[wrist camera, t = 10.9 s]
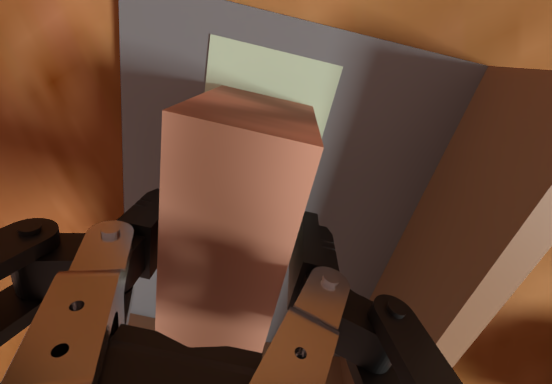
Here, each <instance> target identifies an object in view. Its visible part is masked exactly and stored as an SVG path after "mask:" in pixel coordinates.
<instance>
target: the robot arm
mask: <svg viewBox="0 0 552 384" xmlns="http://www.w3.org/2000/svg"><path fill="white" fill-rule="evenodd" d="M159 192H160V189H158V188H157V189H155V190H152V191H150V192H147V193H146V194H145V195H144V196H143V197H141V198H140V200H138V201H137V202H136V203H135V205H133V206H132V207H131V208H130V209H128V210H127V211H126V212H125V213H124V214H123V215H122V216H121V217H120V218H119V219H118V220H116V221H115V220H113V221H104V222H100V223H97V224H95V225H93V226H92V227H90V228H89V229H88V230H87V232H86V233H59V227H58V224H57V223H56V222H54V221H53V220H50V219H44V218H32V219H25V220H21V221H18V222H15V223H12V224H10V225H8V226H5V227H3V228H0V280H2V279H3V278H5V277H7V276H9V275H11V278H12V282H13V284H12V285H11V286H9V287H7V288H6V289H4V290H2V291H1V292H0V346H2V345H3V344H4V343H6V342H7V341H8V340H10V339H11V338H12V337H14V336H15V335H16V334H18V333H19V332H20V331H22V330H23V329H25V328H26V327H27V326H29V325H30V326H29V328H28V330H27V332H26V334H25V336H24V338H23V340H22V342H21V344H20V346H19V348H18V350H17V352H16V354H15V356H14V358H13V360H12V362H11V364H10V366H9V368H8V370H7V372H6V374H5V376H4V378H3V380H2V382H1V383H0V384H325V383H326V379H327V376H328V372H329V369H330V365H331V362H332V358H333V355H334V353H335V354H337V355H339V356H341V357H343V358H345V359H346V362H347V365H348V368H349V370H350V373H351V376H352V378H353V381H354V384H463V383H462V382H461V380H460V379H459V377H458V376H457V374H456V373H455V372H454V370H453V369H452V367H451V366H450V364H449V363H448V361H447V360H446V358H445V357H444V355H443V354H442V353H441V351H440V350H439V348H438V347H437V345H436V344H435V342H434V341H433V339H432V338H431V336H430V335H429V334H428V332H427V331H426V329H425V328H424V326H423V325H422V323H421V322H420V320H419V319H418V317H417V316H416V315H415V313H414V312H413V310H412V309H411V308H410V307H409V306H408V305H407V304H406V303H405V302H403V301H402V300H400V299H398V298H396V297H394V296H391V295H386V294H382V295H378V296H377V297H376V298H375V299H374V301H371V300H369V299H367V298H365V297H363V296H361V295H359V294H357V293H355V292H354V291H352V290H351V289H350V284H349V282H348V280H347V278H346V277H345V276H344V275H343V274H342V273H340V271H339V266H338V261H337V255H336V251H335V245H334V240H333V235H332V233H331V232H330V231H329V229H328V228H327V227H325V226H320V225H319V221H318V214H317V213H312V212H308V211H305V212H304V215H303V218H302V222H301V225H300V228H299V232H298V235H297V238H296V242H295V245H294V248H293V252H292V255H291V258H290V262H289V278H288V301H287V310H288V312H287V314H286V316H285V318H284V319H283V321H282V323H281V325H280V327H279V329H278V331H277V332H276V334H275V336H274V338H273V340H272V342H271V344H270V346H269V347H268V349H267V351H266V353H265V355H264V357H263V359H262V355H263V353H259V352H255V351H250V350H245V349H240V348H236V347H231V346H216V347H187V346H185V345H183V344H181V343H179V342H177V341H175V340H173V339H171V338H169V337H167V336H165V335H163V334H162V333H160V332H158V331H155V330H150V329H145V328H140V327H136V326H131V325H128V323H129V317H130V311H131V306H132V300H133V295H134V284H135V283H136V281H137V280H138V278H139V277H140V278H145V279H149V280H150V278H151V277H152V275H153V274H154V272H155V271H156V269H157V254H158V223H159Z"/></svg>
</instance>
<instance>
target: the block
mask: <svg viewBox="0 0 552 384" xmlns="http://www.w3.org/2000/svg"><path fill="white" fill-rule="evenodd" d="M323 149H324V146H323V142H322V139H321V135H320V131H319V127H318V124H317V120H316V116H315V113H314V109H313V106H309V105H305V104H301V103H296V102H292V101H288V100H284V99H279V98H275V97H271V96H267V95H262V94H258V93H254V92H250V91H245V90H241V89H237V88H233V87H228V86H224V85H221V86H219V87H216V88H214V89H212V90H209V91H207V92H204V93H202V94H200V95H197V96H195V97H193V98H190V99H188V100H185V101H183V102H181V103H178V104H176V105H173V106H171V107H169V108H166V109H164V110H162V131H161V162H160V192H159V223H158V254H157V284H156V315H155V331H158V332H160V333H162V334H163V335H165V336H167V337H169V338H171V339H173V340H175V341H177V342H179V343H181V344H183V345H185V346H187V347H216V346H231V347H236V348H240V349H245V350H250V351H255V352H259V353H262V351H263V348H264V344H265V341H266V338H267V335H268V331H269V328H270V325H271V321H272V318H273V315H274V311H275V308H276V305H277V301H278V298H279V295H280V291H281V288H282V285H283V281H284V278H285V275H286V272H287V268H288V265H289V262H290V258H291V255H292V252H293V248H294V245H295V242H296V238H297V235H298V232H299V228H300V225H301V222H302V218H303V215H304V212H305V209H306V205H307V202H308V199H309V195H310V192H311V189H312V185H313V182H314V179H315V175H316V172H317V169H318V165H319V162H320V159H321V155H322V152H323Z"/></svg>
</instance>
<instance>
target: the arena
mask: <svg viewBox="0 0 552 384" xmlns="http://www.w3.org/2000/svg"><path fill="white" fill-rule="evenodd" d="M119 36H120V74H121V113H122V151H123V190H124V213H125V212H126V211H127V210H128V209H130V208H131V207H132V206H133V205H135V203H136V202H137V201H138V200H140V198H141V197H143V196H144V195H145V194H146V193H147V192H150V191H152V190H155V189H157V188H158V189H160V162H161V131H162V110H164V109H166V108H169V107H171V106H173V105H176V104H178V103H181V102H183V101H185V100H188V99H190V98H193V97H195V96H197V95H200V94H202V93H204V92H207V91H209V90H212V89H214V88H216V87H219V86H221V85H224V86H228V87H233V88H237V89H241V90H245V91H250V92H254V93H258V94H262V95H267V96H271V97H275V98H279V99H284V100H288V101H292V102H296V103H301V104H305V105H309V106H313V109H314V113H315V116H316V120H317V124H318V127H319V131H320V135H321V139H322V142H323V146H324V149H323V152H322V155H321V159H320V162H319V165H318V169H317V172H316V175H315V179H314V182H313V185H312V189H311V192H310V195H309V199H308V202H307V205H306V209H305V211H308V212H312V213H317V214H318V221H319V225H320V226H325V227H327V228H328V229H329V231H330V232H331V233H332V235H333V240H334V245H335V251H336V255H337V261H338V266H339V271H340V273H342V274H343V275H344V276H345V277H346V278H347V280H348V282H349V284H350V289H351V290H352V291H354V292H355V293H357V294H359V295H361V296H363V297H365V298H367V299H369V300H371V301H374V299H375V298H376V297H377V296H378V295H382V294H386V295H391V296H394V297H396V298H398V299H400V300H402V301H403V302H405V303H406V304H407V305H408V306H409V307H410V308H411V309H412V310H413V312H414V313H415V315H416V316H417V317H418V319H419V320H420V322H421V323H422V325H423V326H424V328H425V329H426V331H427V332H428V334H429V335H430V336H431V338H432V339H433V341H434V342H435V344H436V345H437V347H438V348H439V350H440V351H441V353H442V354H443V355H444V357H445V358H446V360H447V361H448V363H449V364H450V366H451V367H452V368H453V366H454V365H455V364H456V363H457V361H458V360H459V359H460V358H461V357H462V355H463V354H464V353H465V352H466V350H467V349H468V348H469V347H470V346H471V344H472V343H473V342H474V341H475V339H476V338H477V337H478V336H479V335H480V333H481V332H482V331H483V330H484V328H485V327H486V326H487V325H488V324H489V322H490V321H491V320H492V319H493V317H494V316H495V315H496V314H497V312H498V311H499V310H500V309H501V308H502V306H503V305H504V304H505V303H506V301H507V300H508V299H509V298H510V297H511V295H512V294H513V293H514V292H515V290H516V289H517V288H518V287H519V286H520V284H521V283H522V282H523V281H524V279H525V278H526V277H527V276H528V275H529V273H530V272H531V271H532V270H533V268H534V267H535V266H536V265H537V263H538V262H539V261H540V260H541V259H542V257H543V256H544V255H545V254H546V252H547V251H548V250H549V249H550V248H551V246H552V70H539V69H524V68H509V67H495V66H486V65H482V64H478V63H474V62H470V61H466V60H462V59H458V58H454V57H450V56H446V55H442V54H438V53H434V52H430V51H426V50H422V49H418V48H414V47H410V46H406V45H402V44H398V43H394V42H390V41H386V40H382V39H378V38H374V37H370V36H366V35H362V34H358V33H354V32H350V31H346V30H342V29H338V28H334V27H330V26H326V25H322V24H318V23H314V22H310V21H306V20H302V19H298V18H294V17H290V16H286V15H282V14H278V13H274V12H270V11H266V10H262V9H258V8H254V7H250V6H246V5H242V4H238V3H234V2H230V1H226V0H119ZM288 278H289V265H288V268H287V272H286V275H285V278H284V281H283V285H282V288H281V291H280V295H279V298H278V301H277V305H276V308H275V311H274V315H273V318H272V321H271V325H270V328H269V331H268V335H267V338H266V341H265V344H264V348H263V351H262V353H263V355H262V359H263V357H264V355H265V353H266V351H267V349H268V347H269V346H270V344H271V342H272V340H273V338H274V336H275V334H276V332H277V331H278V329H279V327H280V325H281V323H282V321H283V319H284V318H285V316H286V314H287V312H288V310H287V301H288ZM156 284H157V269H156V271H155V272H154V274H153V275H152V277H151V278H150V280H149V279H145V278H140V277H139V278H138V280H137V281H136V283H135V284H134V295H133V300H132V306H131V311H130V317H129V323H128V325H131V326H136V327H140V328H145V329H150V330H155V315H156ZM325 384H354V381H353V378H352V376H351V373H350V370H349V368H348V365H347V362H346V359H345V358H343V357H341V356H339V355H337V354H335V353H334V355H333V358H332V362H331V365H330V369H329V372H328V376H327V379H326V383H325Z"/></svg>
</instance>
